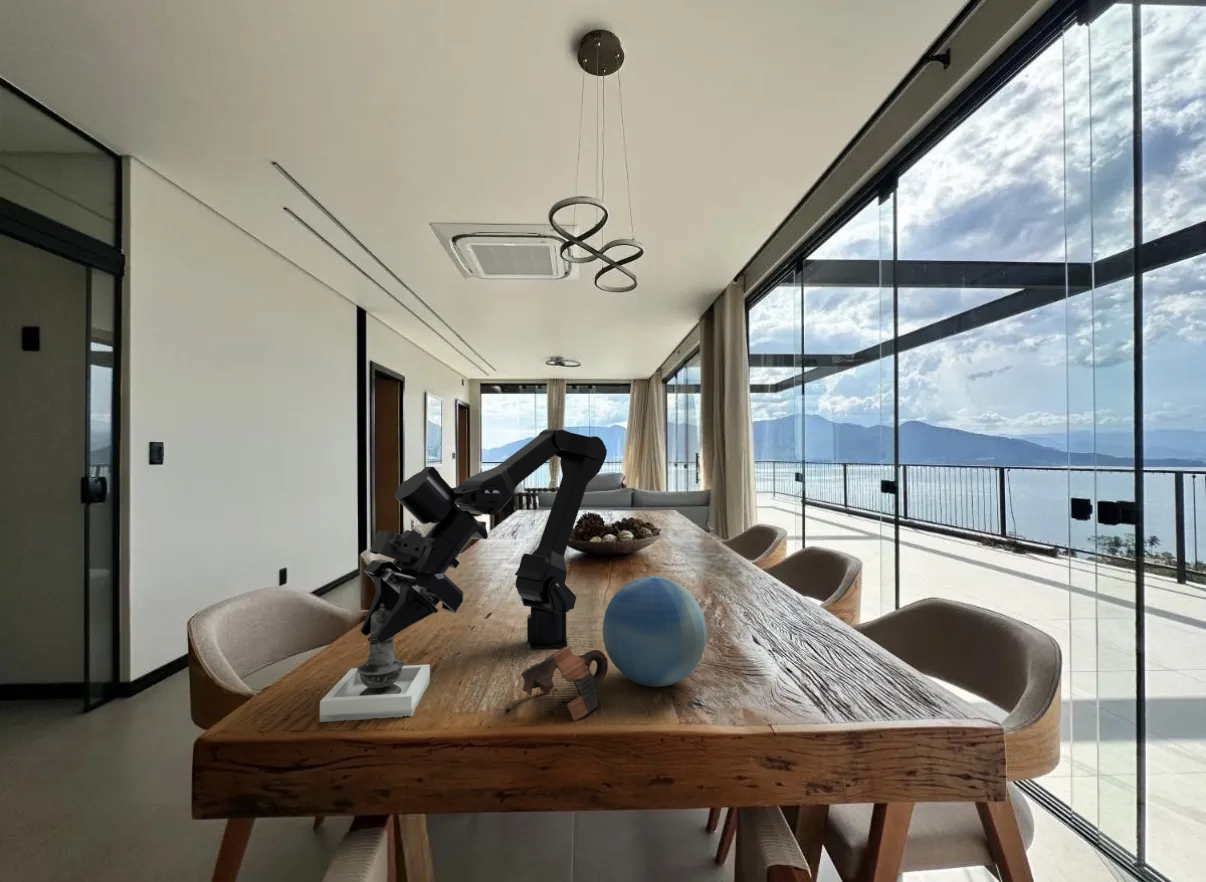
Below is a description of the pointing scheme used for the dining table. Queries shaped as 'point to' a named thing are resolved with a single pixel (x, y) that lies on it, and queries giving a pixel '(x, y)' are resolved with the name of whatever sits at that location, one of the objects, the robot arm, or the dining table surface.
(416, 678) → the box
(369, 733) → the dining table surface
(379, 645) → the grey stone finial
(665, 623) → the decorative ball
